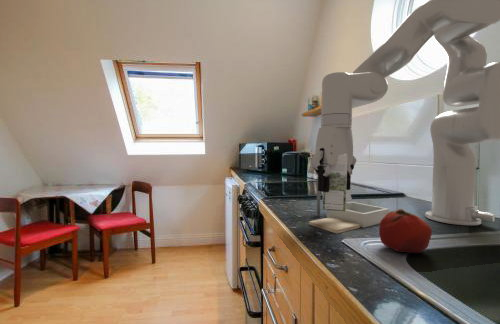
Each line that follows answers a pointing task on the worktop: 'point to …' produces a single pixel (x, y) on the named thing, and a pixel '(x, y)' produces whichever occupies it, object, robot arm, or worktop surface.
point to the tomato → (404, 232)
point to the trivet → (334, 225)
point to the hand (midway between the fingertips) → (334, 190)
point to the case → (356, 213)
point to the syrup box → (336, 186)
